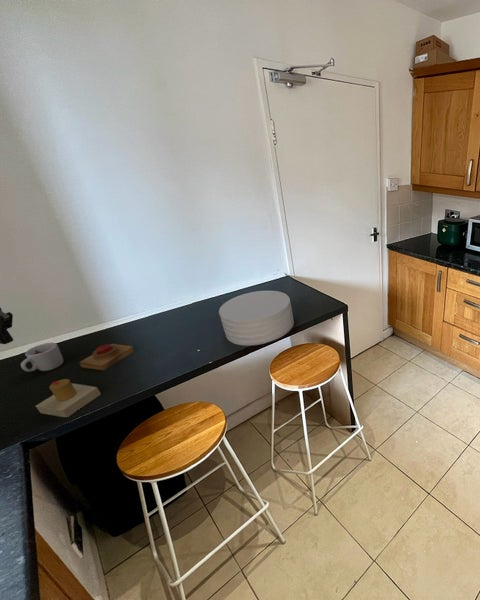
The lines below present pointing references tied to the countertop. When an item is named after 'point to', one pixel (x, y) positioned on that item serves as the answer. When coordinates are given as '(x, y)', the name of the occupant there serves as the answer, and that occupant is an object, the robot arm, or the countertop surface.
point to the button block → (107, 357)
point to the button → (104, 349)
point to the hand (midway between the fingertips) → (7, 342)
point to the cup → (43, 357)
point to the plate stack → (257, 317)
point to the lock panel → (69, 402)
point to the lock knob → (63, 389)
